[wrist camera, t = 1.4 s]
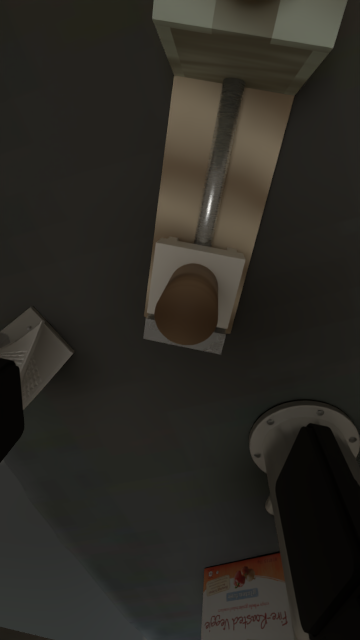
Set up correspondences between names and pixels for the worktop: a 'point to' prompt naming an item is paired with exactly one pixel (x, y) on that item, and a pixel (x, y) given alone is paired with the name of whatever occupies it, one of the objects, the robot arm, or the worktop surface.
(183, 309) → the carriage
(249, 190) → the rail base
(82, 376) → the worktop surface
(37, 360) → the skyscraper
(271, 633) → the cracker box
